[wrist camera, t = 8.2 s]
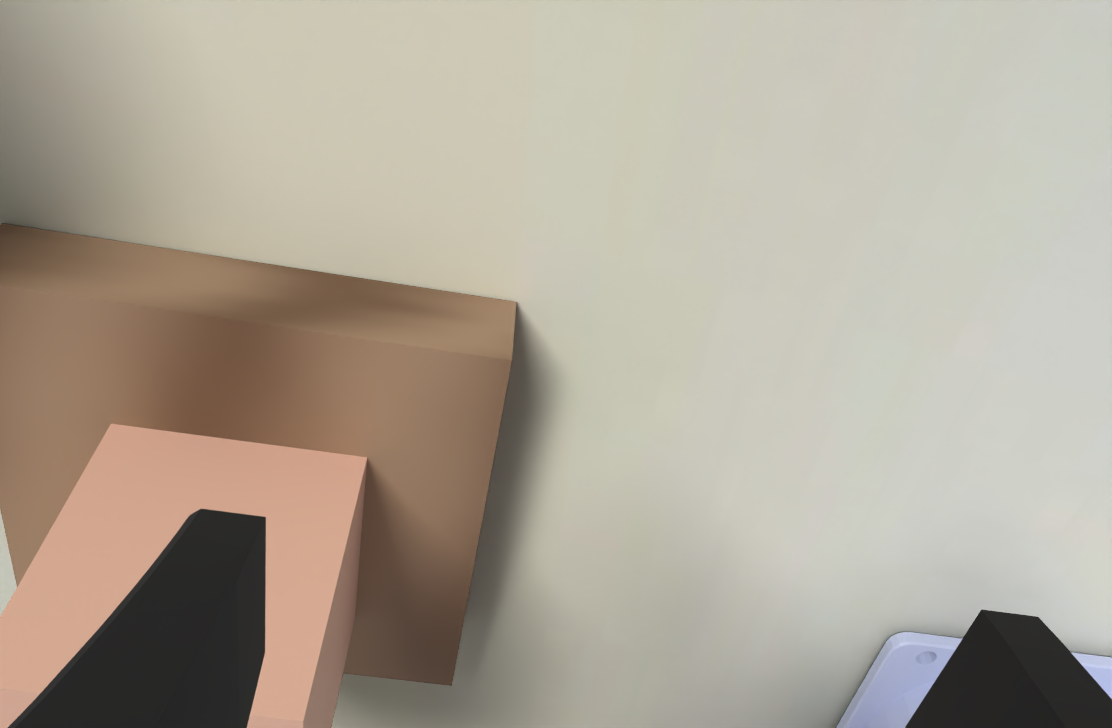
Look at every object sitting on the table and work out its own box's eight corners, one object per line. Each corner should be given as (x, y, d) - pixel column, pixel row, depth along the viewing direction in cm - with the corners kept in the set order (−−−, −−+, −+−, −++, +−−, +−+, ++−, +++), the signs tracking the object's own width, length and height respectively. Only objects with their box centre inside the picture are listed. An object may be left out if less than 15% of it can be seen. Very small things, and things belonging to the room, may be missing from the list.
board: (516, 302, 20) (511, 360, 19) (458, 620, 26) (451, 685, 24) (2, 223, 19) (-50, 277, 18) (62, 571, 25) (28, 636, 24)
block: (367, 457, 20) (302, 720, 15) (354, 617, 23) (298, 881, 18) (110, 423, 20) (-39, 684, 15) (131, 592, 23) (12, 855, 18)
